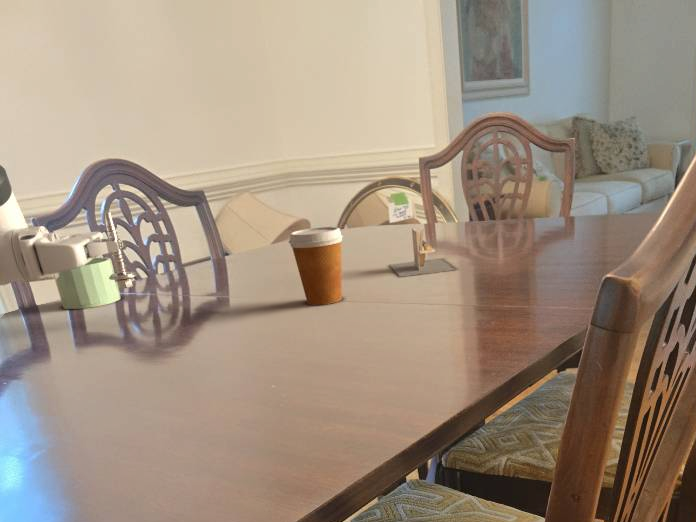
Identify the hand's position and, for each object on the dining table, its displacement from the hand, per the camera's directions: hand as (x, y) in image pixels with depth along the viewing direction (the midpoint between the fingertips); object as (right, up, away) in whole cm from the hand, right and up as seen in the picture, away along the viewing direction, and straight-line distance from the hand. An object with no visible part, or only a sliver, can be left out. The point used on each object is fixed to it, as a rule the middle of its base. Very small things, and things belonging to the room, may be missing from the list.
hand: (120, 244), depth 136 cm
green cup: (-15, -2, +25) cm, 29 cm away
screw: (0, -7, +4) cm, 7 cm away
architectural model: (+54, +5, +25) cm, 60 cm away
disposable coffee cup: (+36, -9, +4) cm, 37 cm away
